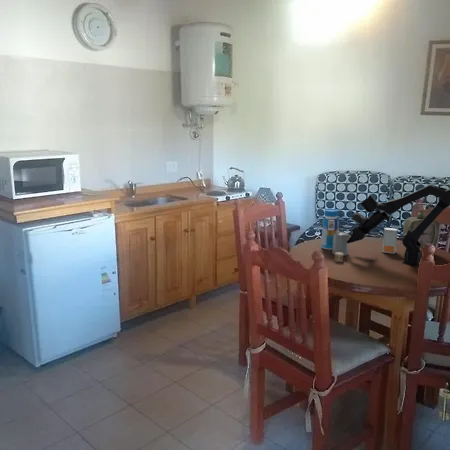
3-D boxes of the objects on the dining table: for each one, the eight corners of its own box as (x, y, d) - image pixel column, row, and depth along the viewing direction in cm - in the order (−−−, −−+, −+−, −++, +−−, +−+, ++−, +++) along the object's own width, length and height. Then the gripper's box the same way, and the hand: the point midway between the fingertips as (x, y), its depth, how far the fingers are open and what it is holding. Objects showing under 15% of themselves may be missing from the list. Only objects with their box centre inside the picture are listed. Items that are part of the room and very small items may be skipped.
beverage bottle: (317, 247, 240) (319, 209, 236) (327, 244, 245) (329, 207, 241) (331, 250, 234) (333, 212, 230) (341, 248, 239) (343, 210, 235)
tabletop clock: (407, 255, 226) (411, 205, 221) (399, 250, 235) (404, 201, 230) (436, 255, 227) (441, 205, 222) (427, 250, 236) (432, 201, 231)
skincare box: (381, 252, 231) (383, 229, 229) (383, 250, 235) (385, 227, 233) (394, 254, 229) (396, 230, 226) (395, 252, 232) (397, 228, 230)
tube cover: (350, 255, 226) (351, 235, 224) (337, 256, 225) (338, 236, 222) (343, 251, 233) (344, 232, 231) (330, 252, 231) (331, 232, 229)
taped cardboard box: (334, 259, 219) (335, 251, 218) (342, 260, 218) (343, 252, 217) (334, 261, 215) (335, 253, 214) (342, 262, 214) (343, 254, 214)
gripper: (367, 204, 227) (343, 224, 235) (358, 210, 211) (333, 231, 219) (382, 221, 225) (358, 241, 233) (374, 229, 209) (349, 249, 217)
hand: (349, 240), depth 225 cm, fingers open, 9 cm apart
